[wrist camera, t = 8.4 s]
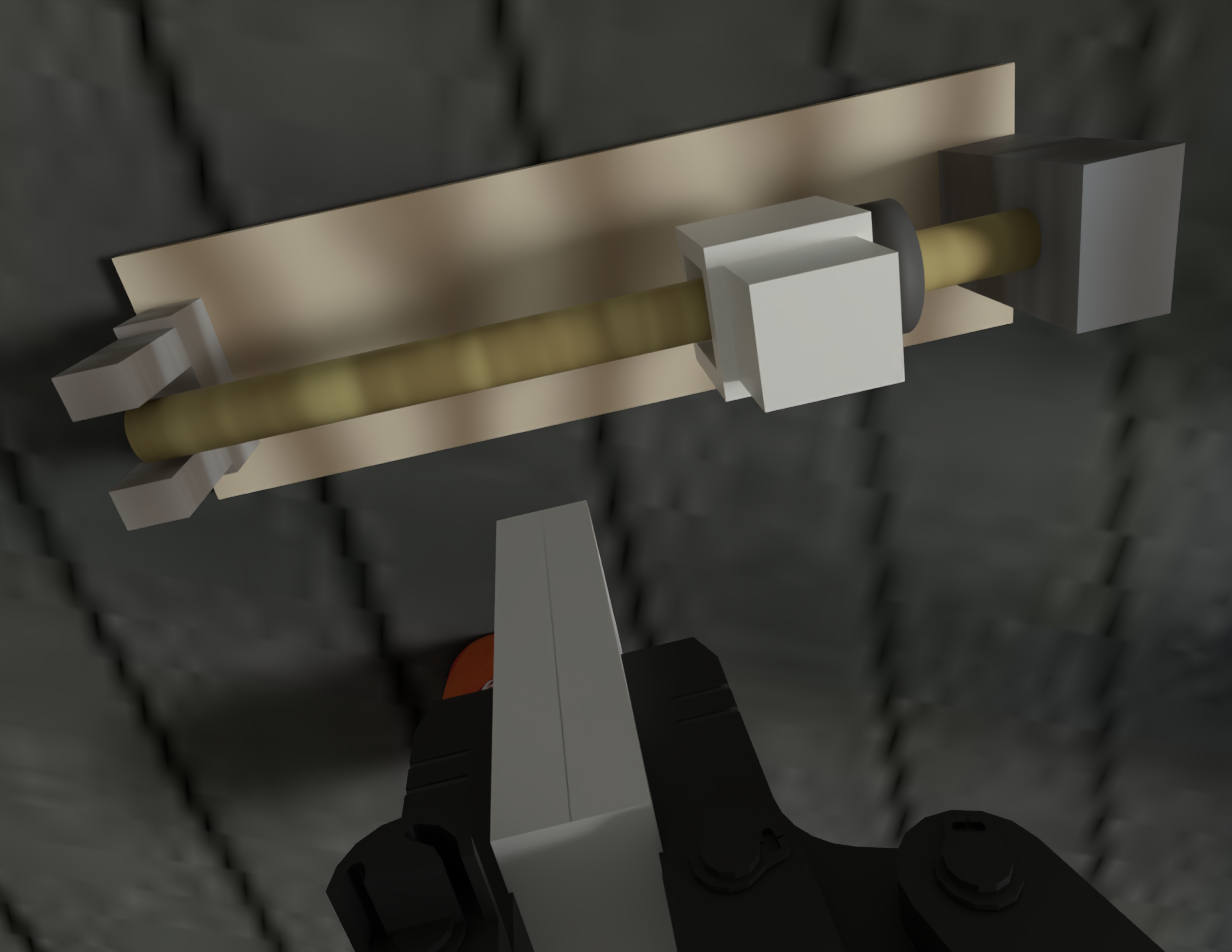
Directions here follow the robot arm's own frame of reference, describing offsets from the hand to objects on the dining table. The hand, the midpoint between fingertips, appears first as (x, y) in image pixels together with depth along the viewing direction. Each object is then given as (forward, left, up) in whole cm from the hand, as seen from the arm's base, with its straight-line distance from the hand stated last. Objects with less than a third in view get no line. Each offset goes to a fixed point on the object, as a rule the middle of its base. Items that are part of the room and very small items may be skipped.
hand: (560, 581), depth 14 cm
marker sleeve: (+8, 0, -17) cm, 19 cm away
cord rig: (+2, 0, -22) cm, 22 cm away
